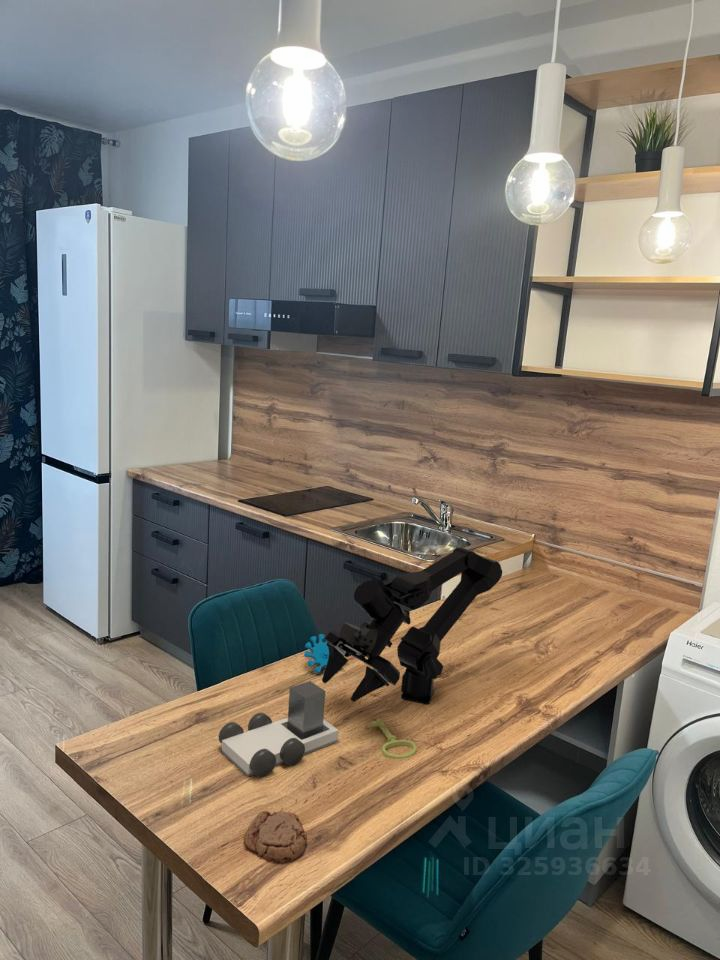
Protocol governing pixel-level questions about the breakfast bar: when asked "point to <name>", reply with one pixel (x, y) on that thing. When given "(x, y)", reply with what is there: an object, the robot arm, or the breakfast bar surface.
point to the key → (393, 742)
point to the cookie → (276, 836)
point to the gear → (317, 653)
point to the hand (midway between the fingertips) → (337, 691)
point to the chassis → (269, 744)
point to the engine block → (306, 710)
